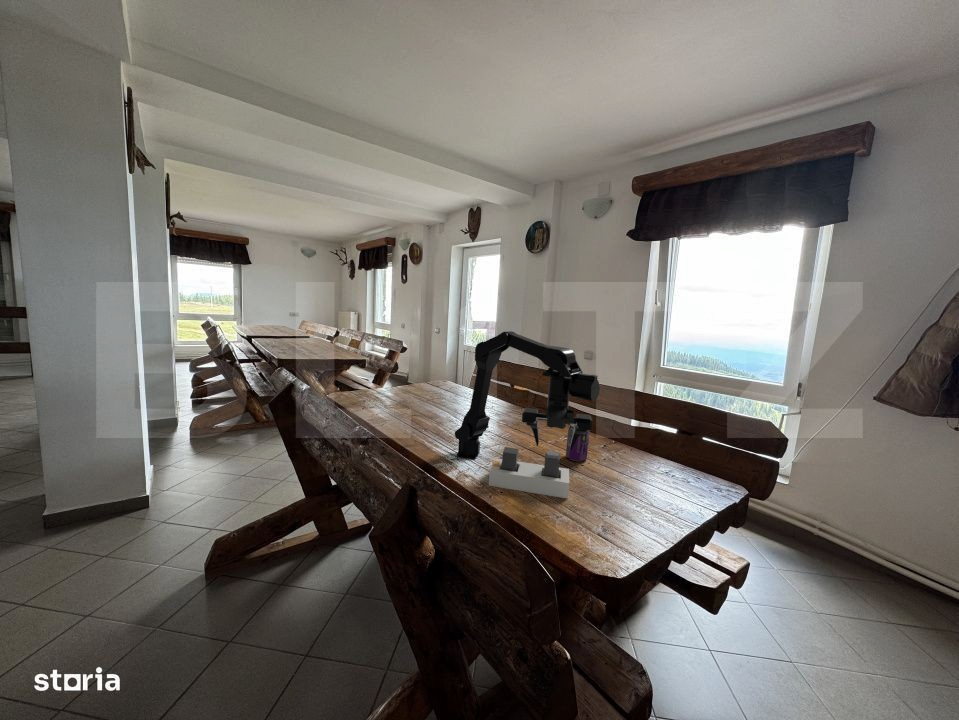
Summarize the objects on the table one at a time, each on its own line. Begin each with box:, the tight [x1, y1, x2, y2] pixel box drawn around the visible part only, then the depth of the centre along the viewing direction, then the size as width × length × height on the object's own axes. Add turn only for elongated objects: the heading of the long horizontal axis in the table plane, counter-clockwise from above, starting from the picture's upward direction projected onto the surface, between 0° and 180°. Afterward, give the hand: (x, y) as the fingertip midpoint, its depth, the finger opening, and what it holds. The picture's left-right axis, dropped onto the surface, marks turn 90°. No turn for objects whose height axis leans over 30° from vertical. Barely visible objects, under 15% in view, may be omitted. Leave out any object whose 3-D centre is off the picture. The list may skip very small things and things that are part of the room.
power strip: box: [488, 446, 570, 500], centre depth 105 cm, size 22×9×10 cm, turn 77°
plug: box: [543, 450, 561, 478], centre depth 104 cm, size 4×4×9 cm
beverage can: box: [565, 424, 591, 463], centre depth 125 cm, size 7×7×12 cm
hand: (554, 447), depth 103 cm, fingers open, 9 cm apart
